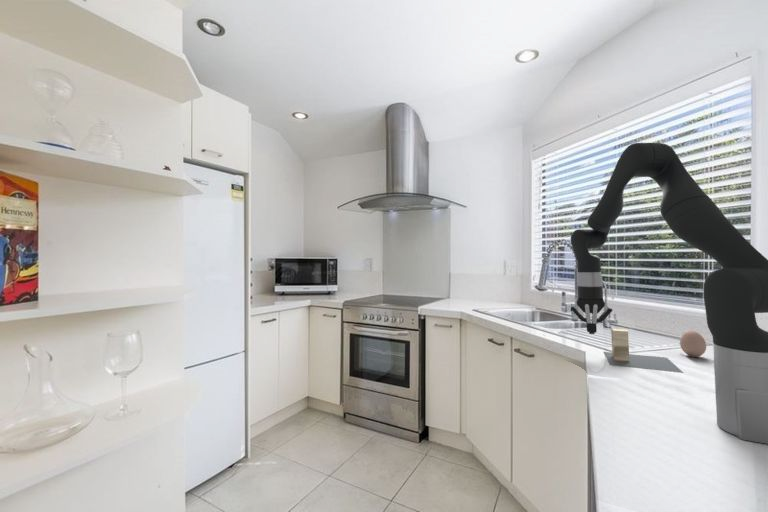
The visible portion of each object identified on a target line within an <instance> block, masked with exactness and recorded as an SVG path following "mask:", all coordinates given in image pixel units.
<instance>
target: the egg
mask: <svg viewBox="0 0 768 512" xmlns="http://www.w3.org/2000/svg"><path fill="white" fill-rule="evenodd" d="M679 345H680V348H681V350H682V352H683V353H685V354H686V355H687V356H689V357H693V358H696V357H701V356H703V355H704V354H705V353H706V351H707V343H706V340H705V338H704V337H703V335H702V334H701V333H700V332H698V331H696V330H691V329H690V330H686V331H685V332H684V333H683V334H682V335H681V337H680V340H679Z"/></svg>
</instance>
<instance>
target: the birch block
mask: <svg viewBox="0 0 768 512" xmlns="http://www.w3.org/2000/svg"><path fill="white" fill-rule="evenodd" d="M610 335H611V352H612V357H613V359H614V360H615V361H623V362H629V354H630V344H629V330H627V329H626V328H623V327H611V328H610Z"/></svg>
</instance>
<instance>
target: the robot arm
mask: <svg viewBox="0 0 768 512" xmlns="http://www.w3.org/2000/svg"><path fill="white" fill-rule="evenodd" d="M633 178H650V179H652V180H653V181H654V182H655V183H656V184H657V185H658V187H659V189H661V190H662V195H661V200H660V204H659V205H660V206H659V207H660V208H659V210H660V214H661V216H662V218H663V220H664V221H665V222H666V224H667V225H668V227H669V228H670V230H671V231H672V232H673V233H674V234H675V235H676V236H677V237H678V238H679V239H681V240H682V241H683V242H686V243H687V244H688V245H690V246H692V247H694V248H695V249H697V250H699V251H701V252H702V253H704V254H705V255H708V256H709V257H710V258H712V259H713V260H714V261H715V262H717V263H718V265H720V267H721V268H718V269H715V270H712V271H711V272H709V274H708V275H707V276H706V278H705V280H704V283H703V301H704V306H705V307H704V308H705V309H704V310H705V317H706V323H707V324H706V325H707V327H708V330H709V332H710V334H711V336H712V345H713V346H712V347H713V348H712V349H713V365H714V366H713V367H714V368H713V369H714V389H715V392H714V393H715V407H716V409H715V411H716V425H717V426H718V427H719V428H720V429H722V430H723V431H724V432H727V433H728V434H732V435H733V436H736V437H737V438H739V440H744V441H749V442H755V443H762V444H767V445H768V330H767V331H766V330H764V329H763V328H761V327H760V326H759V325H758V322H757V318H756V314H764V313H766V314H767V313H768V259H767V258H766V257H765V256H764V255H763V254H762V253H760V252H759V251H758V250H757V248H755V247H754V246H753V245H752V244H751V243H750V242H749V241H748V240H747V239H746V238H745V237H744V236H743V235H742V233H741V232H740V231H739V230H738V229H737V228H736V227H735V225H734V224H732V223H731V222H730V220H729V219H728V218H727V217H726V216H725V215H724V214H723V212H722V211H721V209H720V208H719V207H718V206H717V204H716V203H715V202H714V201H713V200H712V199H711V197H709V195H708V194H707V193H706V192H705V191H704V190H703V189H702V188H701V187H700V186H699V184H698V183H697V182H696V181H695V179H694V178H693V177H692V175H690V173H689V171H688V170H687V169H686V167H685V166H684V164H683V162H682V160H681V159H680V158H679V156H678V154H677V153H676V151H675V150H674V149H673V148H672V147H671V146H670V145H669V144H666V143H662V142H635V143H631V144H630V145H628V146H627V147H626V148H625V149H624V150H623V152H622V153H621V155H620V156H619V158H618V159H617V162H616V165H615V167H614V169H613V171H612V174H611V175H610V178H609V180H608V183H607V185H606V188H605V190H604V192H603V194H602V196H601V199H600V200H599V201H598V203H597V205H596V206H595V208H594V209H593V210H592V212H591V214H590V215H589V217H588V219H587V225H588V226H589V228H583V229H582V228H581V229H579V228H578V229H575V230H574V231H573V232H572V234H571V236H570V245H571V247H572V250H573V254H574V257H575V259H576V262H577V263H576V264H577V276H576V284H577V285H576V286H577V300H576V304H574V305H571V306H570V310H571V311H572V312H573V313H574V314H575V316H576V317H577V318H578V319H579V320H580V321H581V322H584V323H586V331H587V333H589V335H595V333H597V324H598V323H603V322H604V321H605V319H606V318H607V317H608V316H610V315H611V313H612V312H613V308H611V307H609V306H608V305H606V302H605V301H604V290H603V289H604V288H603V276H602V265H601V264H602V263H601V261H602V260H601V258H600V257H599V256H598V255H595V254H594V255H593V254H591V253H590V251H589V250H591V249H599V248H601V247H602V246H603V245H605V243H606V242H607V239H608V236H609V233H610V230H611V228H612V226H613V224H614V223H615V222H616V220H617V219H618V218H619V216H620V215H621V213H622V211H623V208H624V192H625V188H626V187H627V185H628V183H630V181H631V180H632V179H633ZM579 309H580V310H581V311H582V312H583V313H584V314H585V315H584V316H585V317H584V316H583V315H582V314H581V313H580V311H579ZM602 310H603V312H602V313H601V314H600V315H599V316H598V314H599V313H600V312H601V311H602Z"/></svg>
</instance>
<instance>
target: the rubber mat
mask: <svg viewBox="0 0 768 512" xmlns="http://www.w3.org/2000/svg"><path fill="white" fill-rule="evenodd" d="M603 354H604V356H605V358H606V360H607V362H608V364H609V365H610V366H616V367H624V368H633V369H634V368H636V369H644V370H653V371H654V370H655V371H660V372H661V371H662V372H663V371H664V372H670V373H671V372H673V373H682V374H683V373H684V372H683V371H682V370H681V369H680V368H679V367H678V366H677V365H676V364H675V363H674V362H673V361H671V360H670V359H669V358H668V357H664V356H653V355H642V354H641V355H640V354H632V353H629V362H623V361H615V360H614V359H613V357H612V351H610V352H609V351H603Z"/></svg>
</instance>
